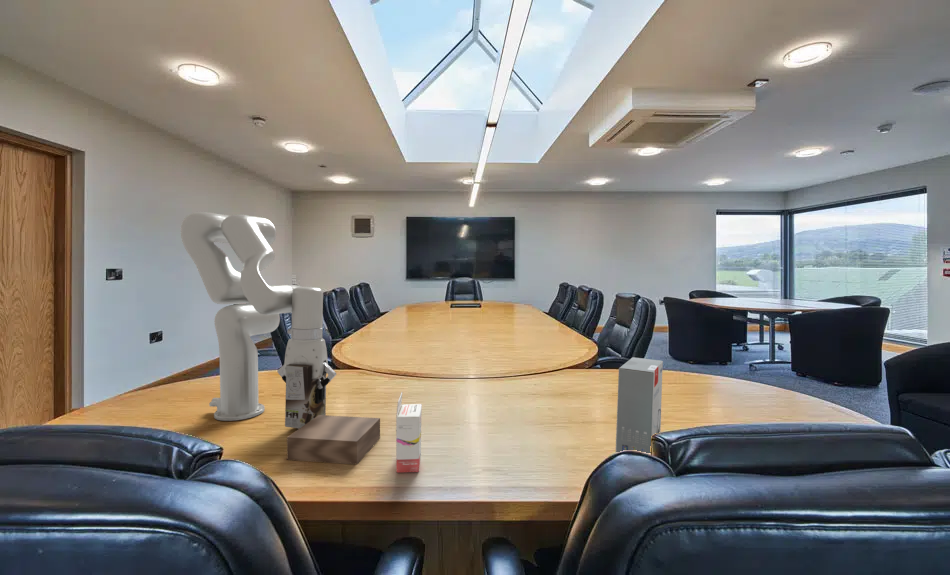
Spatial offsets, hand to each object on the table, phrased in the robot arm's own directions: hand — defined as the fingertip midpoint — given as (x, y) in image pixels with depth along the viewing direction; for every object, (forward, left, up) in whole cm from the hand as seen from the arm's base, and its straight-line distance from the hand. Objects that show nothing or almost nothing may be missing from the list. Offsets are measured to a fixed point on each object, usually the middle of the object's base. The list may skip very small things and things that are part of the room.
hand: (306, 400), depth 108 cm
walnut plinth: (+14, -11, -7) cm, 19 cm away
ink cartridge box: (+33, -16, -7) cm, 37 cm away
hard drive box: (+85, 0, -7) cm, 85 cm away
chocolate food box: (0, 0, -6) cm, 6 cm away
